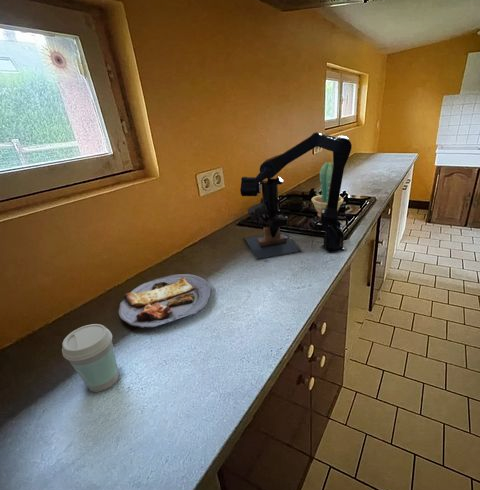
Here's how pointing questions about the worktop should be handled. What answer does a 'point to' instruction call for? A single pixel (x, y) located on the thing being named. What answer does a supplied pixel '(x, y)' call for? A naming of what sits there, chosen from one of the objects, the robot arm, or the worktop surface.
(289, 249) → the mat
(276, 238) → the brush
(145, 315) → the food plate
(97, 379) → the coffee cup
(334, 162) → the robot arm
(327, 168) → the potted cactus
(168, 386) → the worktop surface
